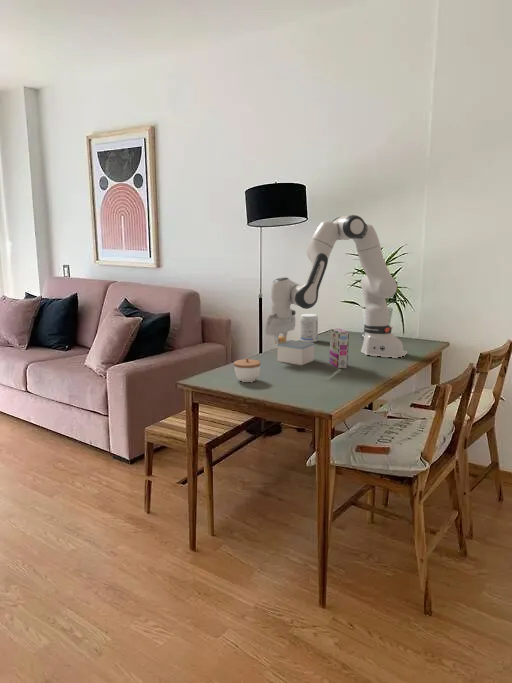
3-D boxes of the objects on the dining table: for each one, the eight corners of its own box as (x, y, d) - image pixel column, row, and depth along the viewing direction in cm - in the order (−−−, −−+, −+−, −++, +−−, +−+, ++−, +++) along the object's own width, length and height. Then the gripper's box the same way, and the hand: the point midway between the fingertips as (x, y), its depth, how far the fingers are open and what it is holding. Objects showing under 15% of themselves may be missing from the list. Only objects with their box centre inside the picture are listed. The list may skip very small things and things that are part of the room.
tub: (313, 362, 247) (314, 345, 245) (301, 366, 238) (301, 349, 237) (290, 358, 254) (290, 341, 253) (277, 362, 246) (277, 345, 244)
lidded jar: (235, 377, 221) (234, 355, 219) (260, 377, 221) (260, 355, 219) (233, 384, 211) (232, 361, 209) (260, 384, 210) (260, 361, 209)
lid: (314, 347, 246) (314, 338, 245) (301, 351, 237) (301, 342, 236) (283, 342, 255) (283, 334, 255) (270, 346, 247) (270, 338, 246)
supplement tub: (309, 338, 302) (309, 313, 299) (321, 341, 295) (321, 315, 292) (296, 340, 296) (297, 314, 293) (308, 343, 289) (309, 316, 286)
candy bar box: (348, 369, 234) (349, 332, 231) (337, 369, 233) (338, 332, 230) (339, 363, 245) (340, 328, 242) (328, 363, 244) (329, 328, 241)
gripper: (273, 316, 237) (273, 346, 239) (297, 310, 253) (297, 339, 256) (262, 315, 240) (262, 345, 243) (286, 309, 257) (286, 338, 259)
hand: (280, 342), depth 250 cm, fingers closed on lid, 3 cm apart
